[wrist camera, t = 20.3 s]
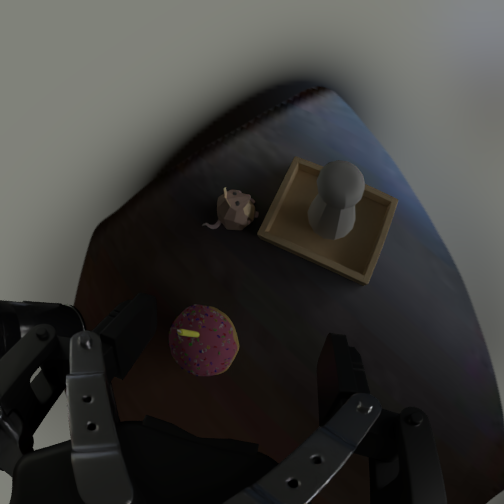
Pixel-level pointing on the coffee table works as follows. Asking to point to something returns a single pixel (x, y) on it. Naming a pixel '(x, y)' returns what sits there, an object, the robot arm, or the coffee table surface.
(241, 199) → the mouse figurine
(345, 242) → the tray
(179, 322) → the cupcake
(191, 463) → the robot arm
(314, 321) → the coffee table surface
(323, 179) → the salt shaker
